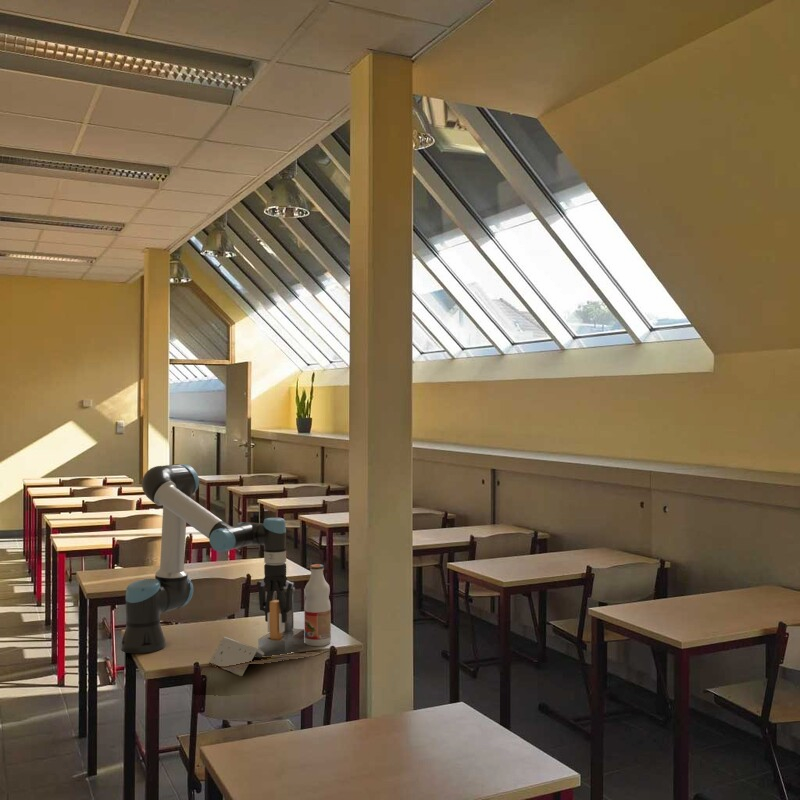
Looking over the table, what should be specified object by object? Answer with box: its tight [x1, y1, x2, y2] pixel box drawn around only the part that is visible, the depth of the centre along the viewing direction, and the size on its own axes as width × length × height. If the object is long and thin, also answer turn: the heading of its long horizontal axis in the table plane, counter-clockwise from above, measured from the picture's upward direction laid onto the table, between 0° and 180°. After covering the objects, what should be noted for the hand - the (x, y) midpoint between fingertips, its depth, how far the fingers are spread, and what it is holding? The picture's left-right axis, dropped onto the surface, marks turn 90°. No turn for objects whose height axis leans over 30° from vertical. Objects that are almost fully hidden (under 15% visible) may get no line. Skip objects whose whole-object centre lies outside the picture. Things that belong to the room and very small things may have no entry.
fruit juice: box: [303, 563, 332, 647], centre depth 298 cm, size 9×9×28 cm
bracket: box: [209, 636, 264, 666], centre depth 273 cm, size 13×10×20 cm
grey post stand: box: [257, 586, 306, 656], centre depth 288 cm, size 10×16×21 cm, turn 162°
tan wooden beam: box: [269, 599, 282, 640], centre depth 284 cm, size 3×3×13 cm
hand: (276, 631), depth 283 cm, fingers closed on tan wooden beam, 4 cm apart
